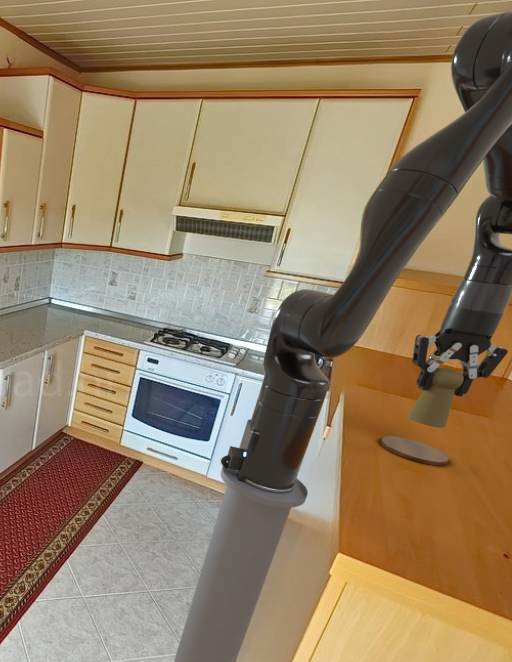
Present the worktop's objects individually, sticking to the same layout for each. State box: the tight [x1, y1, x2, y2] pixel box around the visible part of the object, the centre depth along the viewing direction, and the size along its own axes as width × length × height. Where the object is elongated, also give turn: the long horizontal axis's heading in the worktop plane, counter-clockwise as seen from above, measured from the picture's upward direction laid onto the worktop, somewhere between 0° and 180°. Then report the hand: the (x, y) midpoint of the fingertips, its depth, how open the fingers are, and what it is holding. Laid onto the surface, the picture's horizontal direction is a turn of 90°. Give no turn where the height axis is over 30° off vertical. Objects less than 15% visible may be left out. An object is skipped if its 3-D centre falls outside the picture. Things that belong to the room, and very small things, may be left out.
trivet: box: [380, 435, 450, 466], centre depth 100 cm, size 11×11×1 cm
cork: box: [407, 367, 464, 429], centre depth 96 cm, size 6×6×11 cm
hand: (439, 391), depth 96 cm, fingers closed on cork, 5 cm apart
